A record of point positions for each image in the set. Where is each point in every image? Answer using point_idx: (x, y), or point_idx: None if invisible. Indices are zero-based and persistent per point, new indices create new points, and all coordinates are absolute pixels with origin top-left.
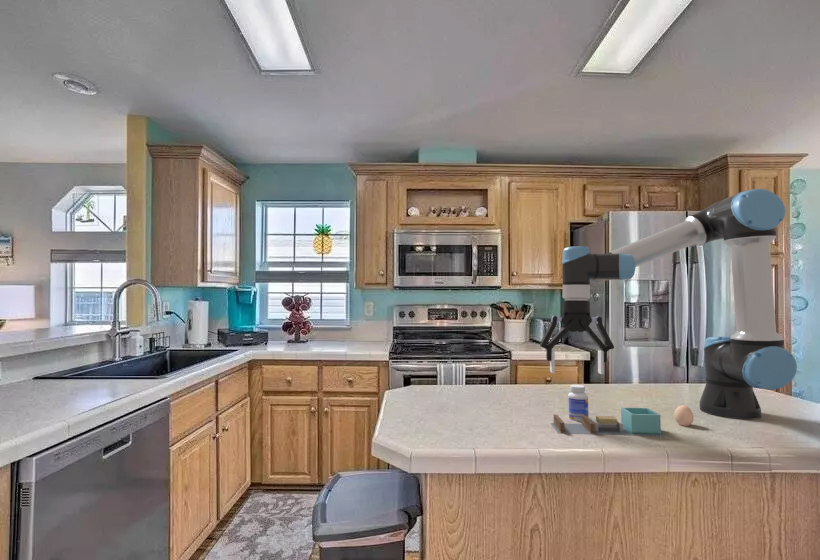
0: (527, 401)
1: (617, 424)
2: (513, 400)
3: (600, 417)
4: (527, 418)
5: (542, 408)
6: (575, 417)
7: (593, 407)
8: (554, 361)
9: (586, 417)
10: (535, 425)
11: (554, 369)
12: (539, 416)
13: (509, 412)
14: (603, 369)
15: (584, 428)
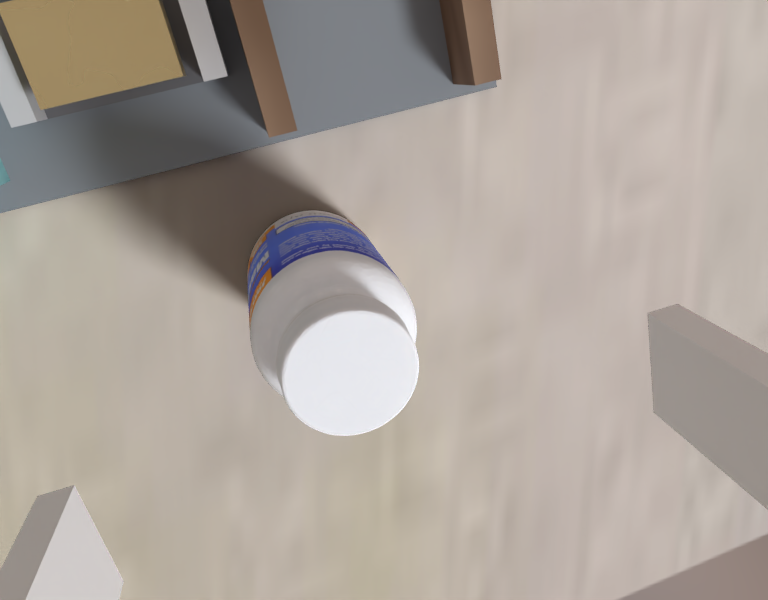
0: (594, 558)
1: (18, 58)
2: (667, 545)
3: (144, 27)
4: (622, 188)
5: (521, 448)
6: (335, 217)
7: (220, 595)
8: (760, 378)
9: (259, 69)
10: (587, 32)
11: (677, 332)
12: (549, 262)
13: (712, 285)
14: (17, 543)
15: (273, 19)
